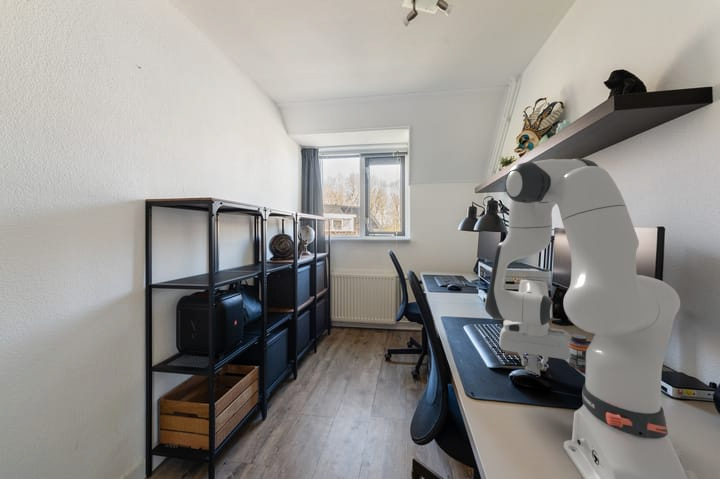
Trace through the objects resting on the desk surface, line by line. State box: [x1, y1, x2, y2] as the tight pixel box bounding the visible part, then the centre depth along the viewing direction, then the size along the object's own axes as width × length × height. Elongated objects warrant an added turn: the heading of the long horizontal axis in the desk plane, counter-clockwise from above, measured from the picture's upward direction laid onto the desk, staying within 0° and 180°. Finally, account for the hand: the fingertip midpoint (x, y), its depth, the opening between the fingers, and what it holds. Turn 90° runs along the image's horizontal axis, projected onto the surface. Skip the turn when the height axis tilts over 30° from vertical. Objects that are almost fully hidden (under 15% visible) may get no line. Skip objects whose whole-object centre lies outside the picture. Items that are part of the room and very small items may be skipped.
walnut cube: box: [505, 350, 519, 356], centre depth 102 cm, size 5×5×5 cm
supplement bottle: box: [568, 333, 590, 372], centre depth 94 cm, size 6×6×11 cm
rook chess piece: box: [524, 354, 541, 377], centre depth 90 cm, size 4×4×8 cm
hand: (532, 366), depth 90 cm, fingers closed on rook chess piece, 3 cm apart
